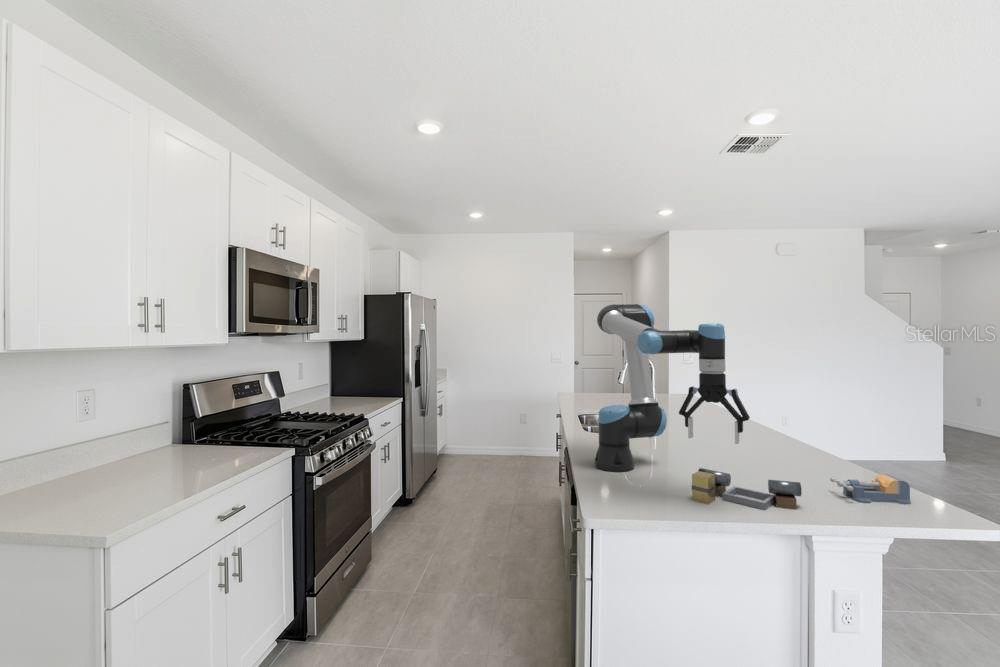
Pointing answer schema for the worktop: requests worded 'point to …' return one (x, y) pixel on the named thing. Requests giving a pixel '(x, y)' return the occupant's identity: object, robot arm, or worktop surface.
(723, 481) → the shaft
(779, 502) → the shaft
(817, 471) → the worktop surface
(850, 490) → the vise
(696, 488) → the gold rectangular block
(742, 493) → the cradle
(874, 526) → the worktop surface
